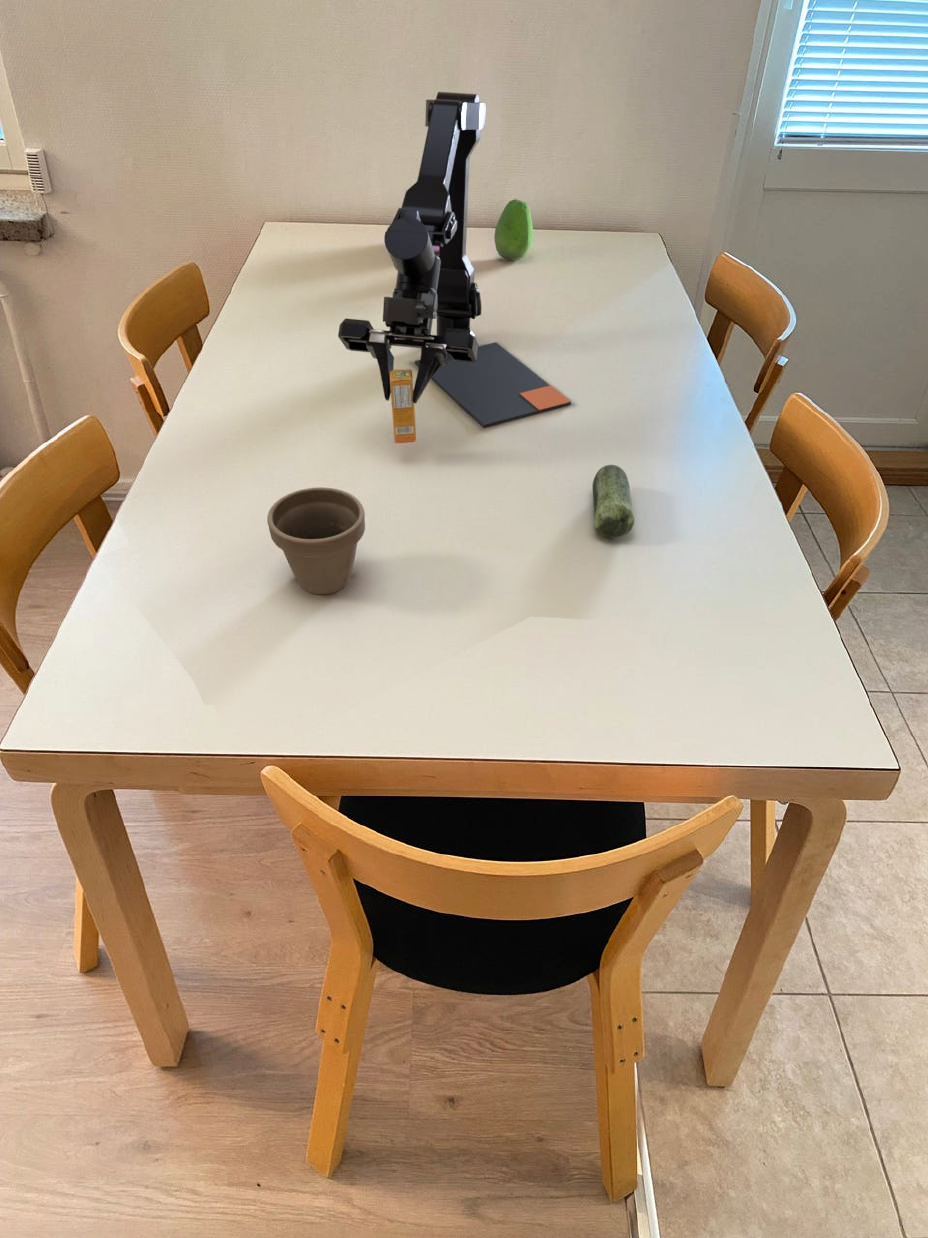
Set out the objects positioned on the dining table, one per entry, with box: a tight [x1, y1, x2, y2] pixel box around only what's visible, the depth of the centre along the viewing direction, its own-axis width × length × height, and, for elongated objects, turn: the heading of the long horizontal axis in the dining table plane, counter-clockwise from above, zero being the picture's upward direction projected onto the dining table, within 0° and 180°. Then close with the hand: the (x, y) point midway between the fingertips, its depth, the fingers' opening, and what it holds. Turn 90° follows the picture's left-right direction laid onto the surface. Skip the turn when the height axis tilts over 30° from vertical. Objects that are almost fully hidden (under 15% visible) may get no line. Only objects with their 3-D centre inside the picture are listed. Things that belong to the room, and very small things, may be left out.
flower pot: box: [266, 486, 366, 595], centre depth 117 cm, size 12×11×10 cm
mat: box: [414, 341, 572, 428], centre depth 159 cm, size 24×16×1 cm, turn 29°
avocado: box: [493, 198, 534, 262], centre depth 196 cm, size 8×8×12 cm
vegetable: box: [592, 464, 635, 539], centre depth 130 cm, size 14×5×5 cm, turn 176°
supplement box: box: [390, 368, 417, 444], centre depth 135 cm, size 3×3×10 cm
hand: (400, 401), depth 133 cm, fingers closed on supplement box, 3 cm apart
